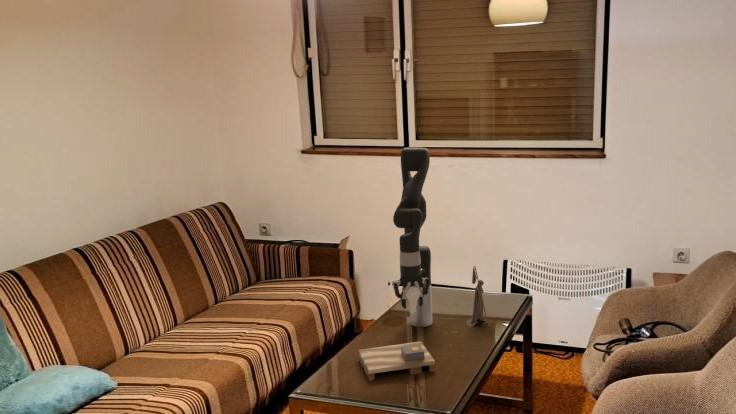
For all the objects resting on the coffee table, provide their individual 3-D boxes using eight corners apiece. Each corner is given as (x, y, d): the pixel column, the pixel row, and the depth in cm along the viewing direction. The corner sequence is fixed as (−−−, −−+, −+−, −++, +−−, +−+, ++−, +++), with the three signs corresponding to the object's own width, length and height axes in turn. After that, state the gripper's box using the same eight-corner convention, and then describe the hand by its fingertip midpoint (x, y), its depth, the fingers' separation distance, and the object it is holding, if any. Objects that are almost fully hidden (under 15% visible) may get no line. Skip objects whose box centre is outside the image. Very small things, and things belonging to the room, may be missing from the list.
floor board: (359, 359, 266) (358, 349, 266) (421, 351, 271) (420, 341, 270) (369, 380, 249) (368, 370, 248) (435, 371, 254) (434, 360, 253)
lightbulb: (422, 310, 264) (422, 282, 262) (418, 316, 259) (418, 287, 257) (406, 309, 266) (405, 281, 264) (402, 315, 261) (401, 286, 258)
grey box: (401, 355, 259) (401, 347, 258) (419, 352, 260) (419, 344, 259) (405, 361, 253) (405, 353, 252) (424, 359, 254) (424, 351, 254)
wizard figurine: (484, 328, 290) (484, 269, 284) (464, 326, 293) (463, 267, 287) (490, 319, 299) (489, 262, 294) (470, 317, 302) (469, 260, 297)
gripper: (425, 257, 264) (427, 301, 267) (388, 262, 261) (390, 306, 264) (432, 263, 257) (433, 307, 260) (393, 267, 253) (396, 312, 257)
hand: (412, 306), depth 262 cm, fingers closed on lightbulb, 5 cm apart
